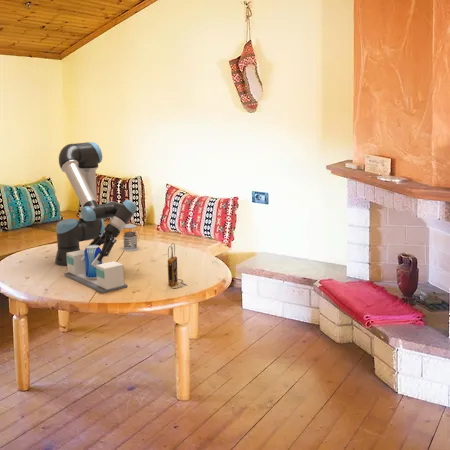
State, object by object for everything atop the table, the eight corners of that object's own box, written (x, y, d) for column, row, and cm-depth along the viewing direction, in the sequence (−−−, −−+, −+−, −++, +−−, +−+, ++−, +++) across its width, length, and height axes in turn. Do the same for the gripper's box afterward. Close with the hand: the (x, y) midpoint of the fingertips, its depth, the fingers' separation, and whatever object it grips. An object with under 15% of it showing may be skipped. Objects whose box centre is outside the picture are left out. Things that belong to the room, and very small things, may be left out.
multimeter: (186, 289, 310) (185, 249, 305) (166, 288, 312) (164, 248, 307) (193, 280, 324) (192, 241, 319) (174, 279, 326) (173, 240, 321)
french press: (130, 246, 390) (128, 205, 385) (144, 248, 384) (143, 207, 378) (118, 249, 382) (116, 208, 377) (133, 252, 376) (131, 210, 370)
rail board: (64, 275, 333) (62, 253, 331) (88, 270, 342) (87, 248, 340) (102, 293, 305) (101, 269, 303) (127, 287, 314) (126, 263, 312)
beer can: (87, 275, 328) (85, 244, 324) (104, 274, 328) (102, 244, 324) (84, 280, 319) (82, 248, 316) (101, 279, 319) (99, 248, 316)
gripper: (131, 235, 320) (104, 272, 314) (108, 228, 337) (82, 263, 330) (121, 226, 316) (94, 264, 309) (98, 219, 332) (72, 255, 325)
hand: (88, 263), depth 320 cm, fingers open, 9 cm apart
